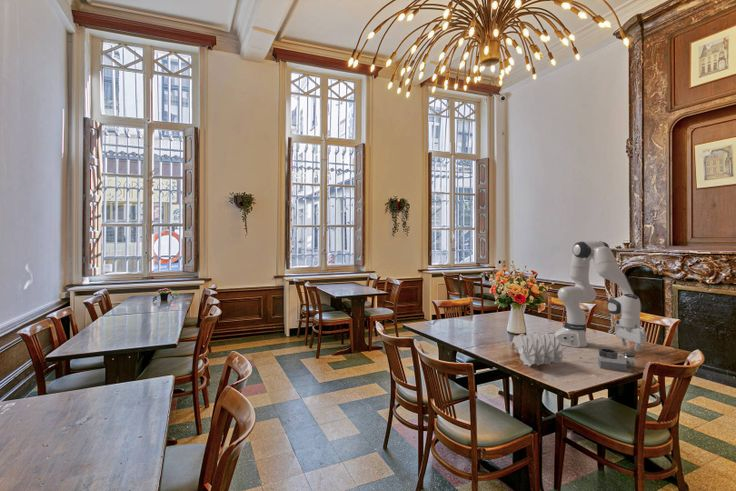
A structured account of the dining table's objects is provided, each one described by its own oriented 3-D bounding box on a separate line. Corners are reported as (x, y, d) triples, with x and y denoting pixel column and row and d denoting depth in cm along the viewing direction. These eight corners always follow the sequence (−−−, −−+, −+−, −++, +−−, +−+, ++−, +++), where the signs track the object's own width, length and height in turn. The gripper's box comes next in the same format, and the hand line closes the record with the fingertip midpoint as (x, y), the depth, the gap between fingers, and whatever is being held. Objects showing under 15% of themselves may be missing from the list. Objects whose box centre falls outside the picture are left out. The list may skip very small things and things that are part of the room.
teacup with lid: (524, 350, 242) (525, 332, 242) (533, 354, 233) (533, 335, 233) (507, 350, 240) (507, 332, 240) (514, 355, 231) (515, 336, 231)
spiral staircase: (561, 371, 216) (524, 373, 209) (541, 349, 231) (507, 351, 224) (574, 346, 208) (536, 348, 201) (553, 326, 224) (517, 326, 216)
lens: (624, 367, 213) (624, 354, 212) (622, 364, 218) (622, 352, 217) (635, 368, 210) (635, 356, 210) (633, 365, 215) (633, 353, 215)
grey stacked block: (599, 368, 211) (600, 352, 210) (597, 363, 219) (598, 347, 219) (626, 371, 206) (626, 355, 205) (623, 366, 214) (623, 350, 214)
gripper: (650, 327, 203) (649, 353, 203) (623, 319, 223) (623, 343, 223) (638, 327, 202) (638, 353, 203) (613, 319, 223) (612, 343, 223)
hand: (630, 348), depth 213 cm, fingers open, 8 cm apart
